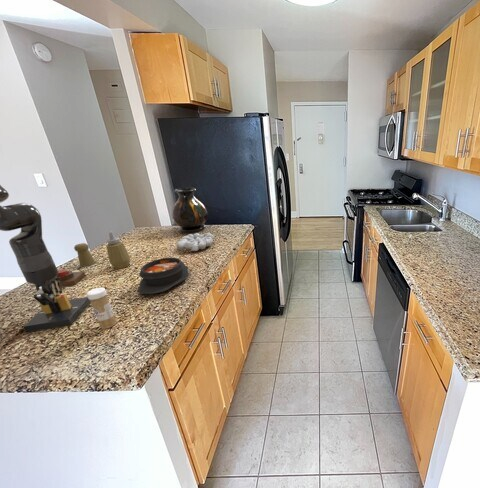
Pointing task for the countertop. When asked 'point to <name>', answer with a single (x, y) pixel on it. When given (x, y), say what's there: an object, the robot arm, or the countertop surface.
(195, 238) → the grey lumpy cluster
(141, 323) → the countertop surface
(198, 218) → the dark glazed vase
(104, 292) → the sprinkles bottle
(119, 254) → the squeeze bottle
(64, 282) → the button block
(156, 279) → the casserole
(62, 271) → the button
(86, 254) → the green pepper mill
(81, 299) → the dark slate board
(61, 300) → the yellow cheese wedge
